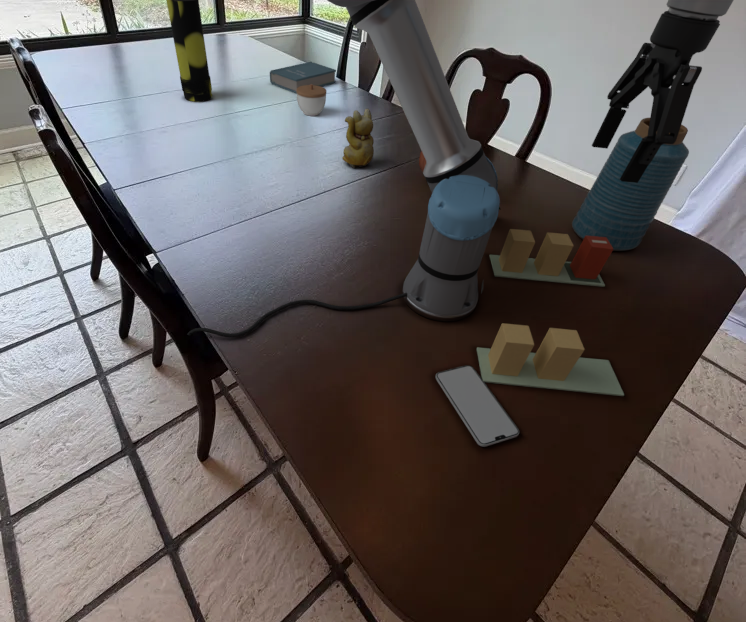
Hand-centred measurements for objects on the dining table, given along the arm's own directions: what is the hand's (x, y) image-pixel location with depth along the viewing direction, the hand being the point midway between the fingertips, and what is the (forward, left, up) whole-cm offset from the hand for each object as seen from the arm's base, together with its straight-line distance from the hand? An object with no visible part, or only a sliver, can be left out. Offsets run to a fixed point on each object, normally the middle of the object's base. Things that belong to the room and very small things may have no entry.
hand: (613, 163), depth 77 cm
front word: (-8, -26, -27) cm, 38 cm away
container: (-110, +98, -27) cm, 149 cm away
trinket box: (-65, +92, -27) cm, 116 cm away
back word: (-1, +5, -27) cm, 27 cm away
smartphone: (-22, -35, -27) cm, 49 cm away
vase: (+18, +23, -27) cm, 40 cm away
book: (-74, +126, -27) cm, 148 cm away
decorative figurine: (-46, +52, -27) cm, 74 cm away
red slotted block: (+8, +5, -26) cm, 28 cm away
